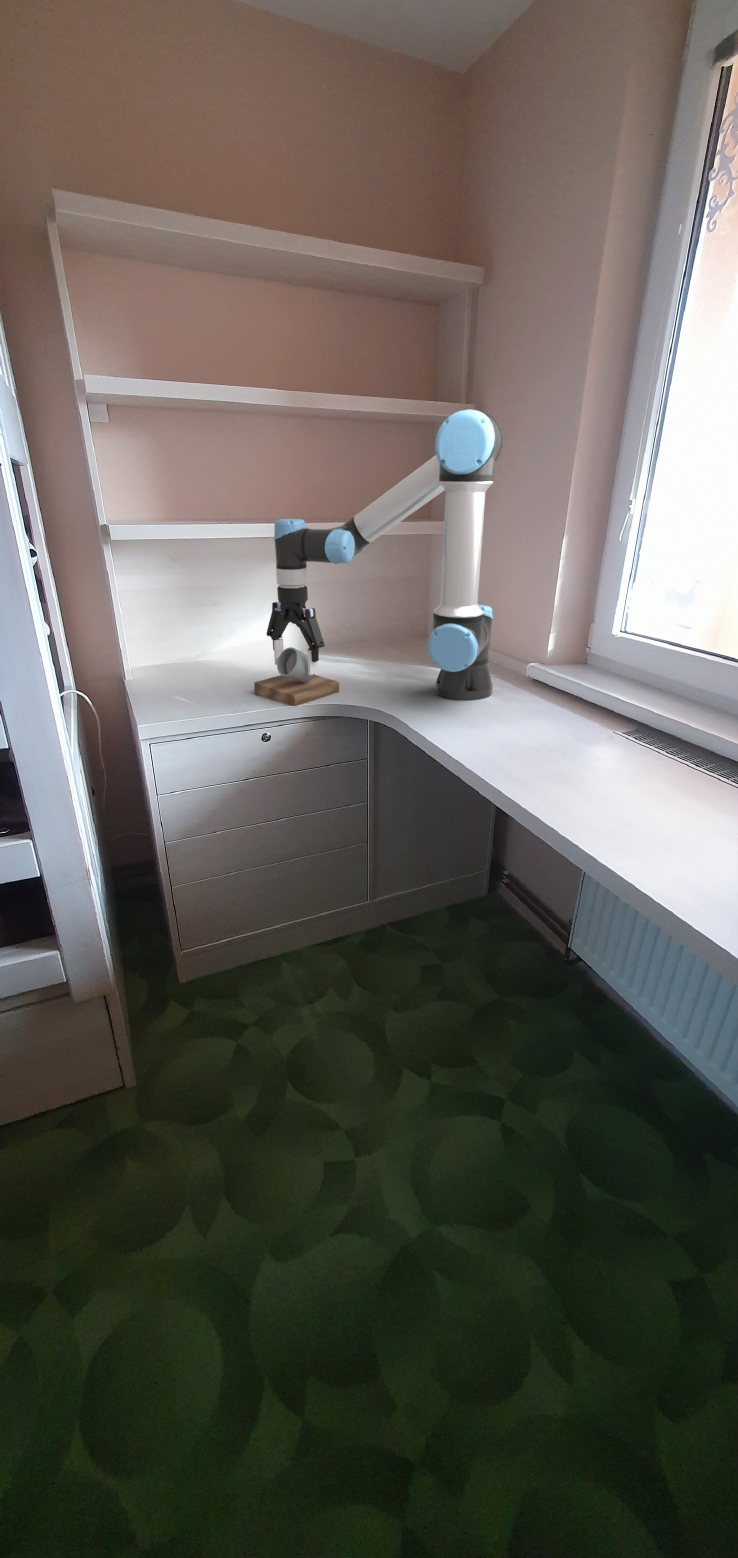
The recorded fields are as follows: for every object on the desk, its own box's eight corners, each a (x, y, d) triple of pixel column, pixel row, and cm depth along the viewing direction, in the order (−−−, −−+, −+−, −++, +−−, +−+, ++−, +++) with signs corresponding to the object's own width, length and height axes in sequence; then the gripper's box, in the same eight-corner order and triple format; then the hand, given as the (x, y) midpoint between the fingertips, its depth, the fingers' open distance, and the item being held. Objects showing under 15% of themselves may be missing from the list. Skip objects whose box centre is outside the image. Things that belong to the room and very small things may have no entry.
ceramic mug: (308, 688, 173) (323, 664, 170) (285, 681, 167) (301, 656, 164) (289, 667, 179) (303, 643, 176) (267, 659, 173) (281, 635, 170)
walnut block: (339, 696, 176) (338, 681, 174) (295, 710, 165) (294, 695, 164) (299, 683, 186) (298, 669, 184) (255, 696, 175) (254, 682, 173)
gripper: (337, 589, 158) (339, 674, 167) (271, 577, 173) (276, 656, 182) (315, 593, 153) (317, 681, 162) (249, 581, 168) (255, 662, 177)
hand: (296, 668), depth 172 cm, fingers open, 12 cm apart
